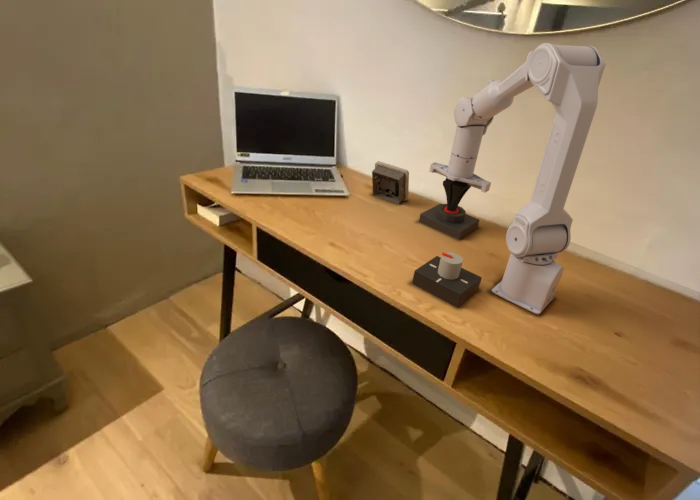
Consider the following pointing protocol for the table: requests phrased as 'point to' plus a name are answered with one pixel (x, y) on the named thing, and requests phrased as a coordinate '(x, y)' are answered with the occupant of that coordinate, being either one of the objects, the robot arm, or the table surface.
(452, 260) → the dial
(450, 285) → the dial panel
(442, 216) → the button block
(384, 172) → the electrical switch
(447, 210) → the power button
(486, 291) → the table surface
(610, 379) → the table surface
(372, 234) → the table surface
